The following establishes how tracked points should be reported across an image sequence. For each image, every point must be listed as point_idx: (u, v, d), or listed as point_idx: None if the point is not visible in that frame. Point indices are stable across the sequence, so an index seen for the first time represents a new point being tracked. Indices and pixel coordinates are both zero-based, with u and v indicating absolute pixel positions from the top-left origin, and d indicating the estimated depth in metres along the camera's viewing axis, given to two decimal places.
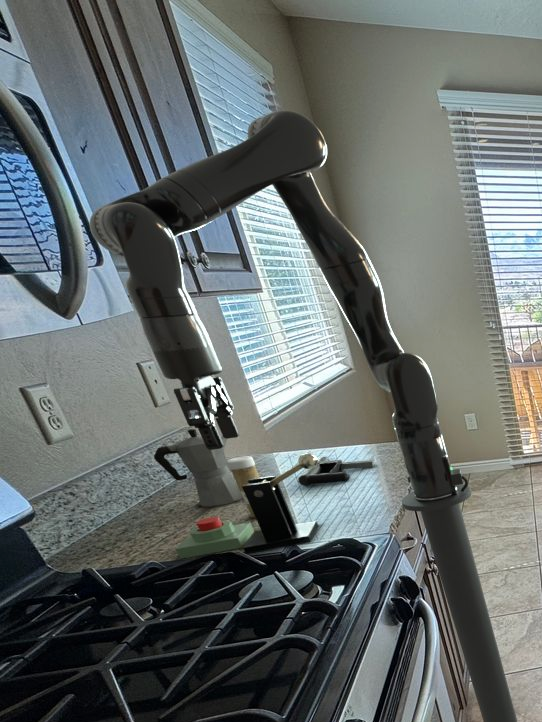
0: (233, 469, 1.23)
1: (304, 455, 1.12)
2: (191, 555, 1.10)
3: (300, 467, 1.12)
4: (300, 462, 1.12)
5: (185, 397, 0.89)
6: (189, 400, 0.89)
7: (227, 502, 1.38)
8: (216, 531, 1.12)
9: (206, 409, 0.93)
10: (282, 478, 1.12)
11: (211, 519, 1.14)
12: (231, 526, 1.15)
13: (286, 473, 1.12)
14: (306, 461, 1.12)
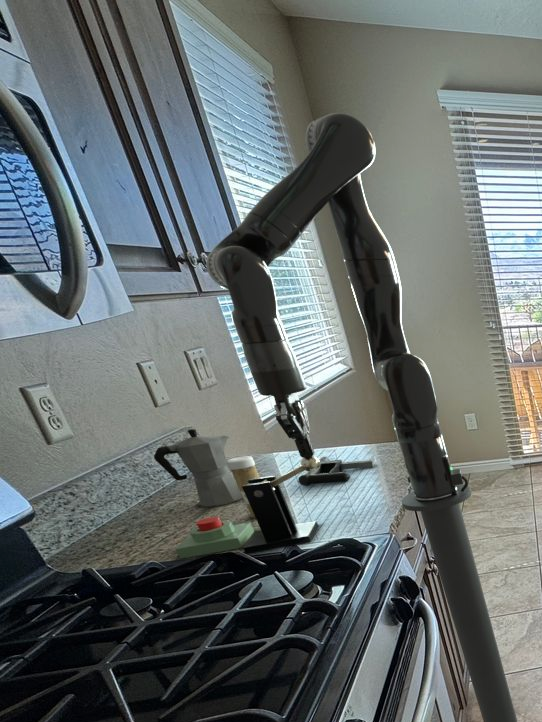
0: (233, 469, 1.23)
1: (307, 458, 1.12)
2: (191, 555, 1.10)
3: (302, 469, 1.13)
4: (303, 464, 1.12)
5: (286, 423, 1.05)
6: (289, 424, 1.05)
7: (227, 502, 1.38)
8: (216, 531, 1.12)
9: None
10: (283, 479, 1.12)
11: (211, 519, 1.14)
12: (231, 526, 1.15)
13: (288, 474, 1.12)
14: (309, 464, 1.12)
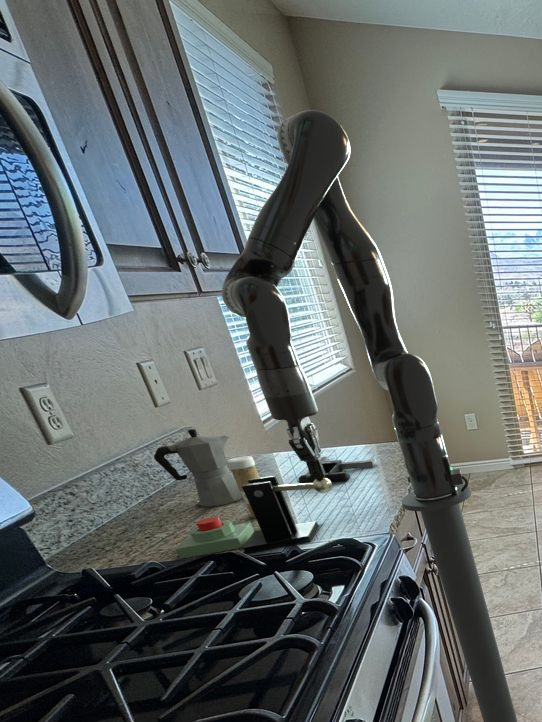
0: (233, 469, 1.23)
1: (323, 479, 1.15)
2: (191, 555, 1.10)
3: (312, 487, 1.14)
4: (315, 484, 1.14)
5: (299, 447, 1.07)
6: (301, 448, 1.07)
7: (227, 502, 1.38)
8: (216, 531, 1.12)
9: None
10: (288, 489, 1.13)
11: (211, 519, 1.14)
12: (231, 526, 1.15)
13: (295, 486, 1.13)
14: (322, 485, 1.14)
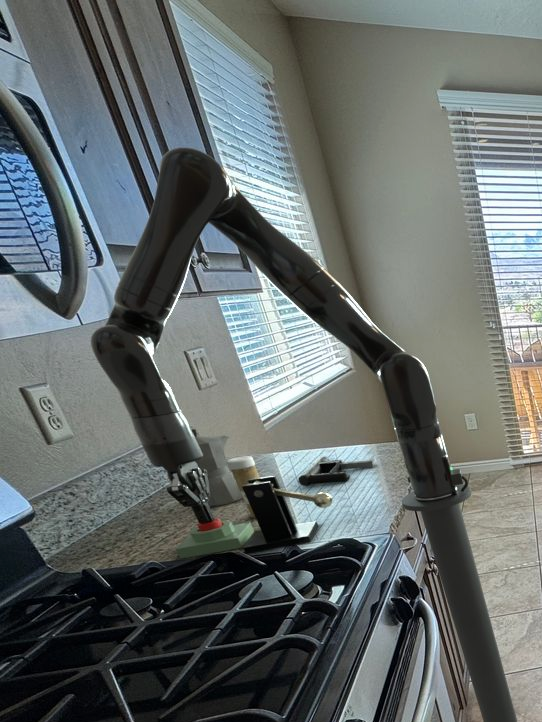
0: (233, 469, 1.23)
1: (326, 496, 1.16)
2: (191, 555, 1.10)
3: (312, 500, 1.15)
4: (317, 498, 1.15)
5: (178, 494, 1.05)
6: (182, 495, 1.06)
7: (227, 502, 1.38)
8: (216, 531, 1.12)
9: None
10: (288, 495, 1.13)
11: None
12: (231, 526, 1.15)
13: (296, 495, 1.14)
14: (323, 501, 1.15)
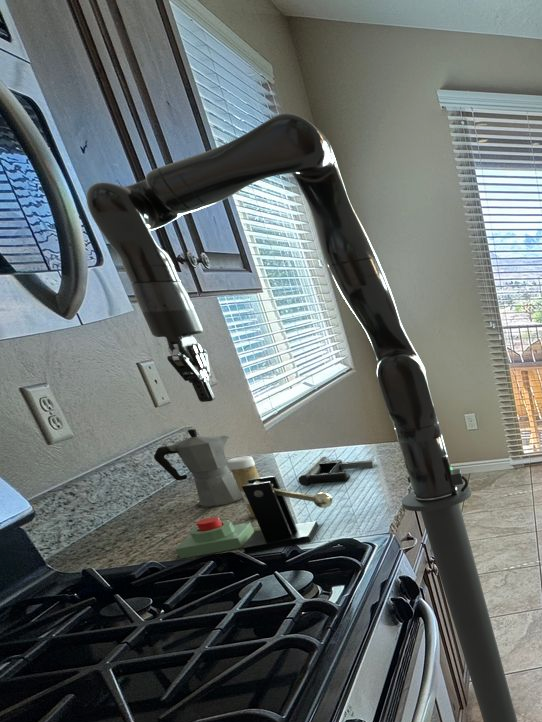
0: (233, 469, 1.23)
1: (326, 496, 1.16)
2: (191, 555, 1.10)
3: (312, 500, 1.15)
4: (317, 498, 1.15)
5: (179, 364, 1.06)
6: (182, 365, 1.06)
7: (227, 502, 1.38)
8: (216, 531, 1.12)
9: None
10: (288, 495, 1.13)
11: (211, 519, 1.14)
12: (231, 526, 1.15)
13: (296, 495, 1.14)
14: (323, 501, 1.15)
